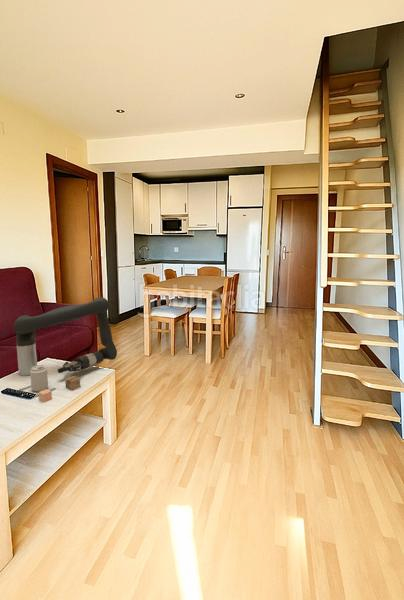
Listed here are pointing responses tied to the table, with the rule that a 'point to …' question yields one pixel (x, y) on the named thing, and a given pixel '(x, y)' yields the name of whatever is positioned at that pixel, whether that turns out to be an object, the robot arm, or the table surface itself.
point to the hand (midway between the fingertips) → (58, 371)
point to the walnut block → (72, 382)
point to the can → (39, 378)
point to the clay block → (45, 395)
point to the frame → (30, 386)
